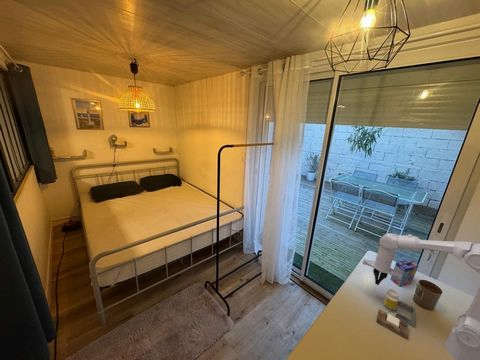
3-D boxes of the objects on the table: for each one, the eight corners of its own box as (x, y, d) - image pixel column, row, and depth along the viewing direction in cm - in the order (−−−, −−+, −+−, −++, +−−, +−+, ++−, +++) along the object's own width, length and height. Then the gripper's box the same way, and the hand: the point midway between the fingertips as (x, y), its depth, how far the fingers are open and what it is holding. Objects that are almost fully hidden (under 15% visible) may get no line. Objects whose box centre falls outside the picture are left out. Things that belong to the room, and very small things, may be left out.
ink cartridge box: (400, 288, 102) (407, 264, 98) (389, 280, 107) (396, 257, 103) (412, 284, 105) (420, 261, 101) (401, 276, 110) (408, 254, 106)
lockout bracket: (413, 312, 89) (414, 307, 88) (413, 327, 82) (415, 322, 81) (396, 304, 92) (397, 299, 92) (395, 317, 86) (396, 313, 85)
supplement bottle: (397, 313, 88) (402, 298, 86) (386, 310, 89) (390, 295, 86) (391, 304, 92) (396, 289, 90) (380, 301, 93) (385, 287, 91)
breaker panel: (406, 327, 81) (408, 323, 81) (406, 339, 77) (408, 334, 76) (378, 312, 87) (379, 308, 87) (376, 322, 83) (377, 317, 82)
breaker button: (397, 323, 82) (399, 319, 82) (397, 331, 79) (399, 326, 79) (386, 317, 85) (387, 313, 84) (385, 324, 82) (386, 319, 81)
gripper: (405, 261, 87) (396, 286, 90) (367, 248, 96) (361, 271, 99) (404, 270, 82) (395, 296, 85) (364, 254, 91) (358, 278, 94)
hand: (377, 283), depth 92 cm, fingers closed
